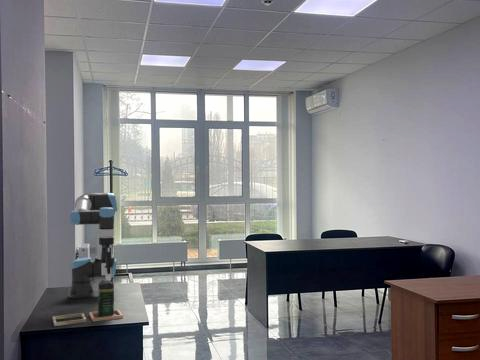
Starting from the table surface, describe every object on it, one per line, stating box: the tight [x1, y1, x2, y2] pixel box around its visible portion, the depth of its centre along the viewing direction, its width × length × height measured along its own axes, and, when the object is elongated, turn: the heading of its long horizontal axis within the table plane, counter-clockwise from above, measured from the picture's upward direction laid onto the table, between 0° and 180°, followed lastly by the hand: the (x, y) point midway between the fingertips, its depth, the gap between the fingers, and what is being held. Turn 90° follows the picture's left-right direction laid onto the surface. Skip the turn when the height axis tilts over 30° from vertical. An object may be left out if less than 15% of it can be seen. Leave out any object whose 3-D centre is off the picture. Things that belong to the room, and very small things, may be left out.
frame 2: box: [88, 308, 124, 322], centre depth 241 cm, size 13×15×2 cm
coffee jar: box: [97, 279, 115, 317], centre depth 241 cm, size 10×8×19 cm
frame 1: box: [52, 312, 87, 327], centre depth 233 cm, size 13×15×2 cm
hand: (106, 277), depth 242 cm, fingers open, 13 cm apart
